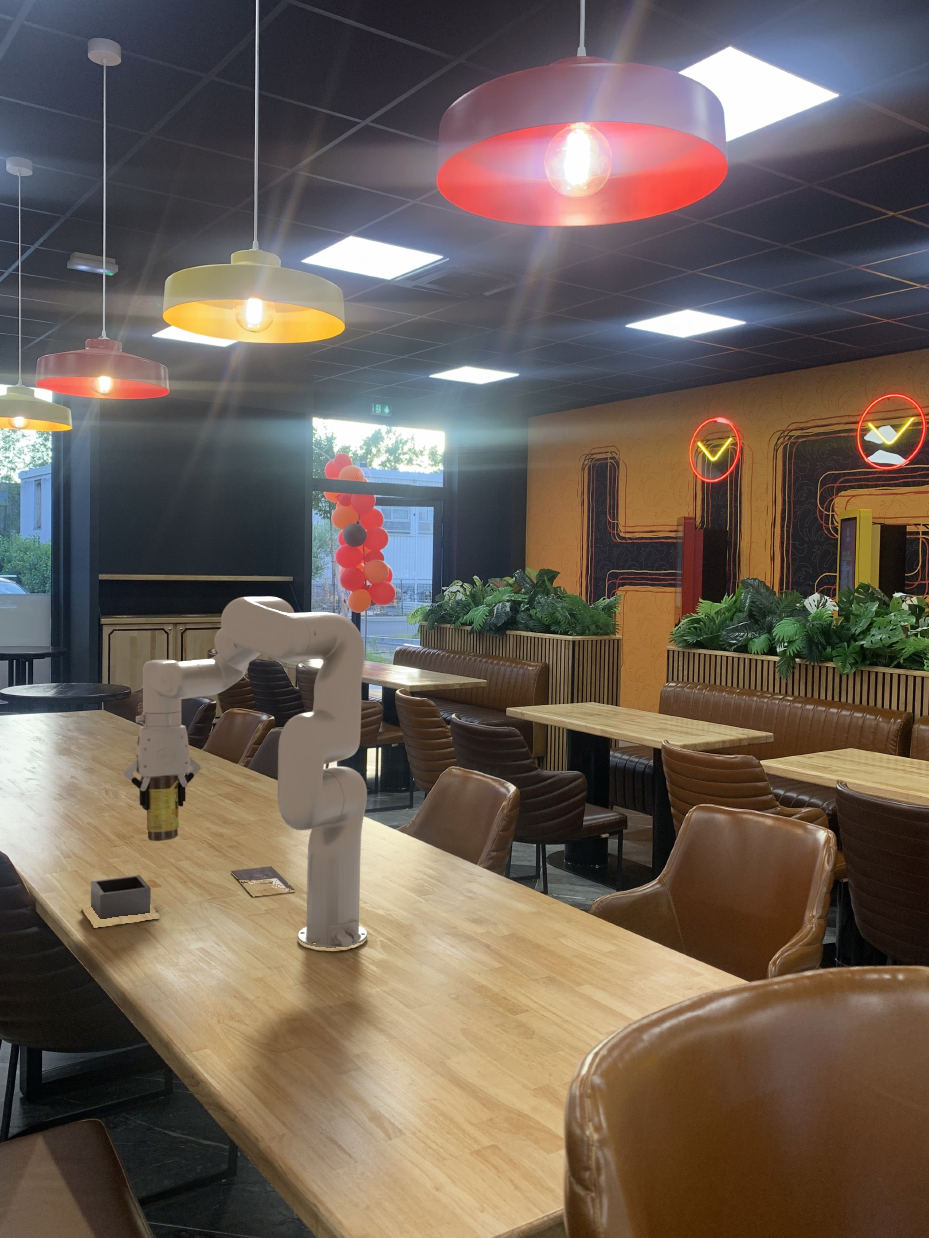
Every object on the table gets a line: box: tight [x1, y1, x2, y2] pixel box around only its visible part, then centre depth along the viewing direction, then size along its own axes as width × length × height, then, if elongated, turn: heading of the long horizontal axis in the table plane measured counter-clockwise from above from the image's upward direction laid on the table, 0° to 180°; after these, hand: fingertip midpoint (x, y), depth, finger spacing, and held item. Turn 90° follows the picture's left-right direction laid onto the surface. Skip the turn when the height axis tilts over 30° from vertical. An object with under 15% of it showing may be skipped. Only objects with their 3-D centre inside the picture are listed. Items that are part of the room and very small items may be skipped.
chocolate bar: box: [230, 865, 296, 891], centre depth 215 cm, size 9×1×18 cm
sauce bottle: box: [146, 775, 180, 842], centre depth 206 cm, size 6×6×20 cm
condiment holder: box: [90, 874, 152, 919], centre depth 193 cm, size 12×12×6 cm
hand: (162, 806), depth 206 cm, fingers closed on sauce bottle, 6 cm apart
